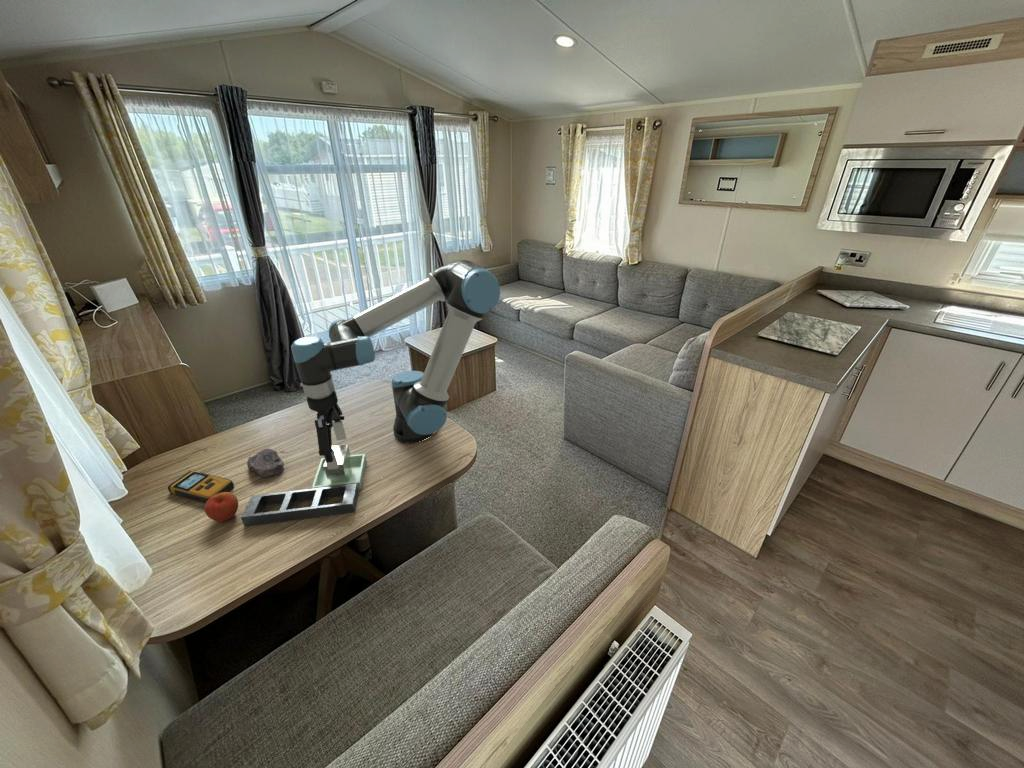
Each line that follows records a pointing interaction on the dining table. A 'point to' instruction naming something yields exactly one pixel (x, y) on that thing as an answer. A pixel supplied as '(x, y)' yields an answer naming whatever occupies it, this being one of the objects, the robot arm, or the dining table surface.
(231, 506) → the apple
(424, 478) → the dining table surface
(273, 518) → the rail
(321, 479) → the tray
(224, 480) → the electronic device
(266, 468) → the rock
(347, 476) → the white rectangular block
